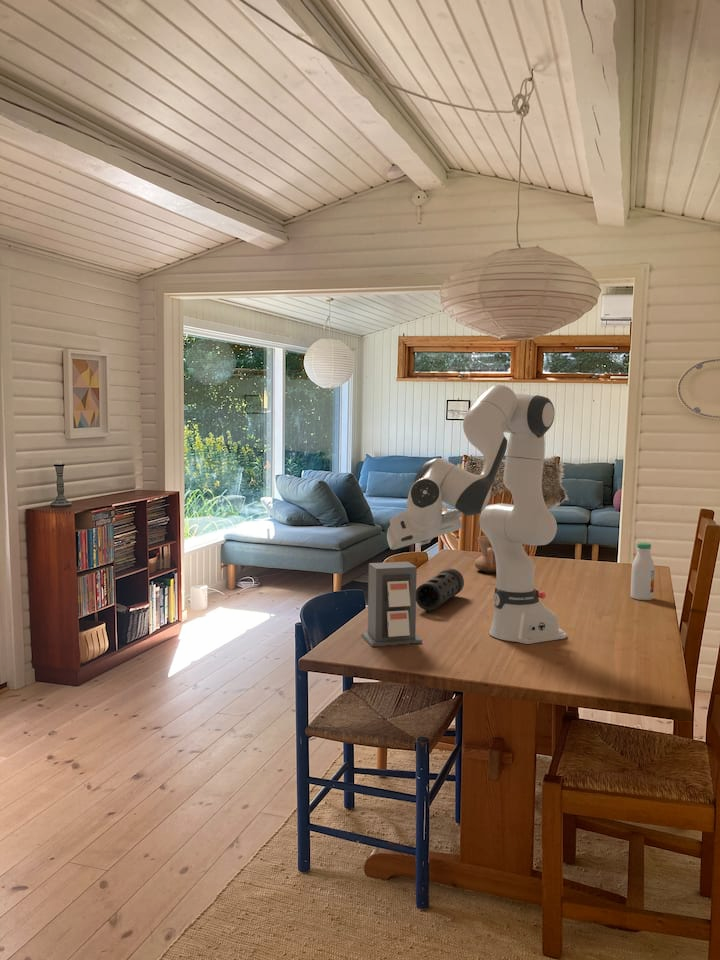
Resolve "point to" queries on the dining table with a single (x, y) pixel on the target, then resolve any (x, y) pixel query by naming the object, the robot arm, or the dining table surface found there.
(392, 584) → the upper rocker
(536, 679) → the dining table surface
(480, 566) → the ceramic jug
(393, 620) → the lower rocker
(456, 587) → the muzzle brake
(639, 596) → the milk bottle
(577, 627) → the dining table surface
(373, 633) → the grey framed tower stand
